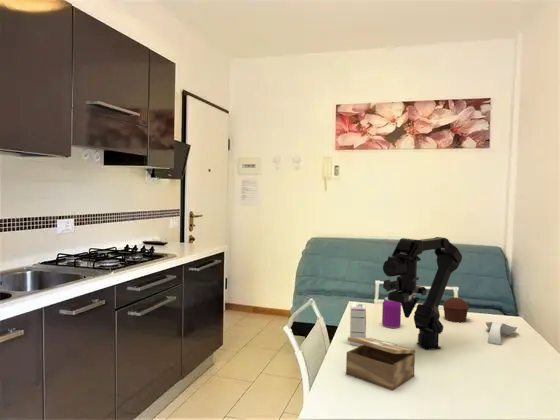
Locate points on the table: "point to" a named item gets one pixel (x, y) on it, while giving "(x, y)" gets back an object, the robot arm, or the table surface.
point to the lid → (381, 345)
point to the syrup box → (357, 322)
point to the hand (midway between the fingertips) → (407, 317)
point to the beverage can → (391, 313)
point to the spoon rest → (499, 331)
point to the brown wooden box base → (380, 366)
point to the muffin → (455, 310)
